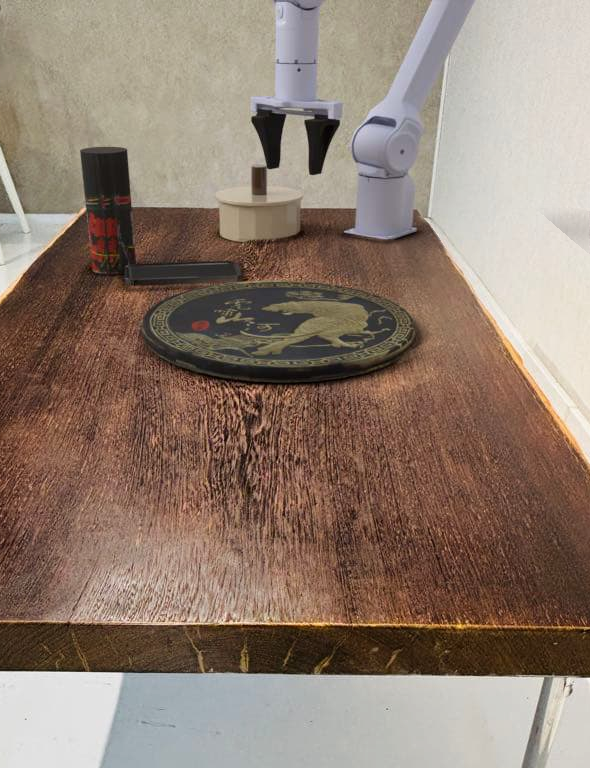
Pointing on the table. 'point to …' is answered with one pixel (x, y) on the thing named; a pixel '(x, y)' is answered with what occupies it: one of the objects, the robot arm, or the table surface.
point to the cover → (259, 192)
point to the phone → (182, 273)
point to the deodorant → (108, 208)
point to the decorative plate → (278, 331)
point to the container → (258, 221)
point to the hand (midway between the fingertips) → (293, 171)
